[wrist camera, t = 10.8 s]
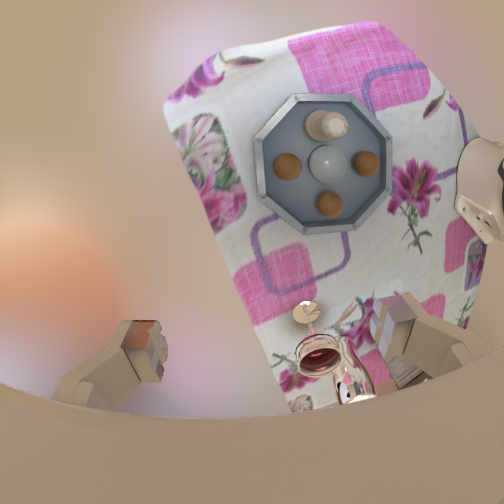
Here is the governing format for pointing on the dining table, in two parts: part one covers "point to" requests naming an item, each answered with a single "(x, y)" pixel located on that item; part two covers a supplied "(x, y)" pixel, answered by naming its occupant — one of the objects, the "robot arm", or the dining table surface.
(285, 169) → the walnut bead
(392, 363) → the coffee box
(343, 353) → the beer glass
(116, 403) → the robot arm
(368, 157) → the walnut bead
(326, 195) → the walnut bead
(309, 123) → the rook chess piece
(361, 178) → the ring dish
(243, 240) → the dining table surface
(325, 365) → the wineglass
